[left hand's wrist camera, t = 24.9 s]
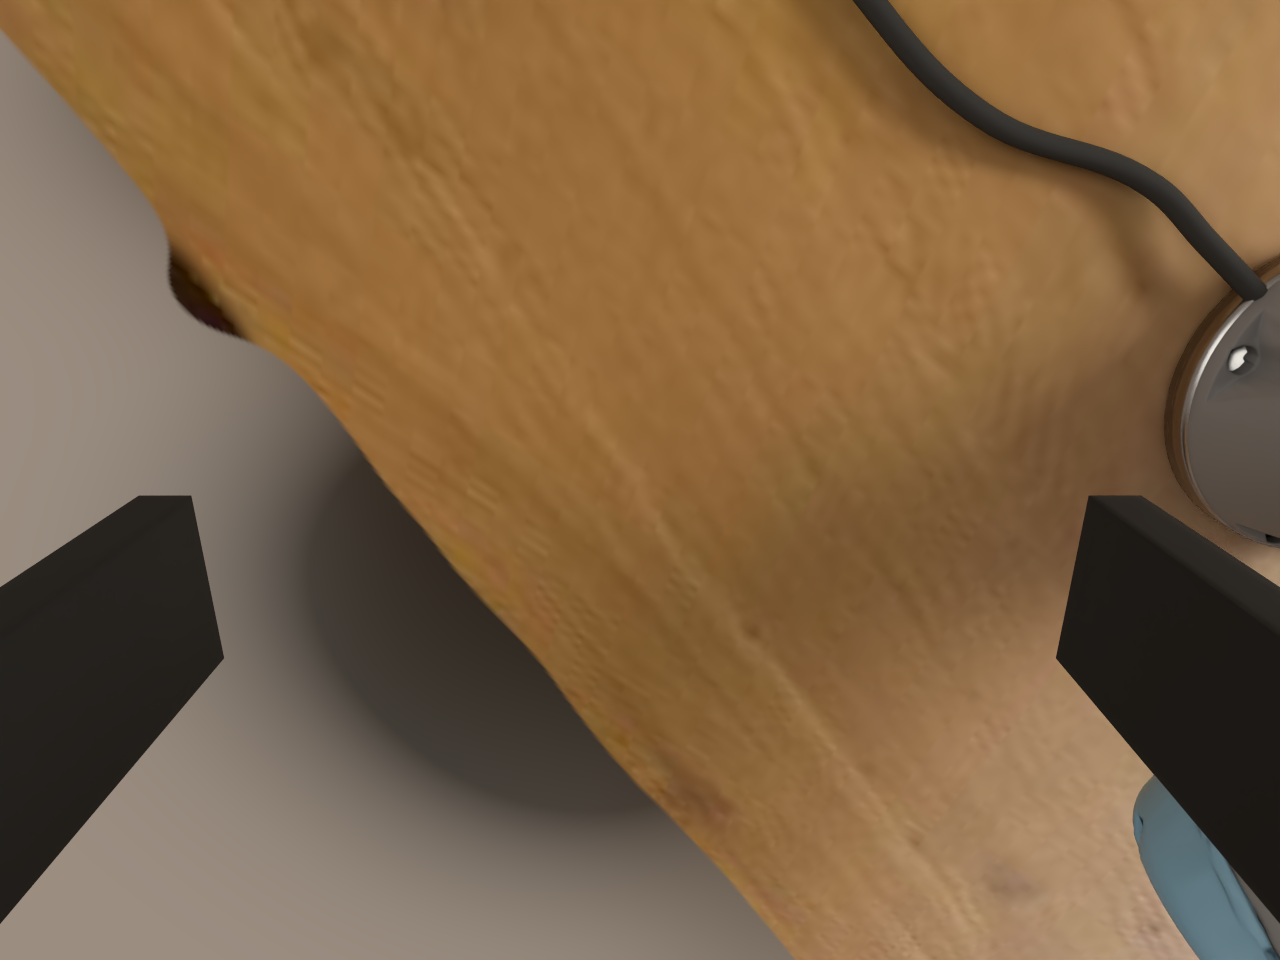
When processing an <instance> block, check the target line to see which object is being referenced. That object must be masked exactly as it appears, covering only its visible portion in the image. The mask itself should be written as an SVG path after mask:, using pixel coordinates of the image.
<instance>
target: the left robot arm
mask: <svg viewBox="0 0 1280 960" xmlns="http://www.w3.org/2000/svg"><path fill="white" fill-rule="evenodd" d="M853 1H854V2H855V4H856V5H857V6H858V8H859V9H860V10H861V11H862V13H863V14H864V15H865V16H866V18H867V19H868V20H869V22H870V23H871V24H872V25H873V27H874V28H875V29H876V30H877V32H878V33H879V34H880V35H881V37H882V38H883V39H884V40H885V42H886V43H887V44H888V45H889V47H890V48H891V49H892V50H893V51H894V53H895V54H896V55H897V56H898V57H899V58H900V60H901V61H902V62H903V63H904V64H905V65H906V66H907V68H908V69H909V70H910V71H911V72H912V73H913V74H914V75H915V76H916V77H917V78H918V79H919V80H920V81H921V82H922V83H923V84H924V85H925V86H926V87H927V88H928V89H929V90H930V91H931V92H932V93H933V94H934V95H935V96H937V97H938V98H939V99H940V100H941V101H942V102H944V103H945V104H946V105H947V106H948V107H950V108H951V109H952V110H954V111H955V112H956V113H957V114H959V115H960V116H961V117H963V118H964V119H965V120H967V121H968V122H970V123H971V124H972V125H974V126H975V127H977V128H979V129H980V130H982V131H983V132H985V133H987V134H988V135H990V136H992V137H994V138H996V139H998V140H1000V141H1002V142H1004V143H1006V144H1008V145H1011V146H1013V147H1016V148H1018V149H1021V150H1024V151H1026V152H1029V153H1032V154H1035V155H1039V156H1042V157H1046V158H1049V159H1053V160H1057V161H1060V162H1064V163H1068V164H1071V165H1075V166H1078V167H1082V168H1085V169H1089V170H1091V171H1094V172H1097V173H1100V174H1103V175H1105V176H1108V177H1110V178H1112V179H1115V180H1117V181H1119V182H1121V183H1123V184H1125V185H1127V186H1129V187H1130V188H1132V189H1134V190H1135V191H1137V192H1138V193H1140V194H1142V195H1143V196H1145V197H1146V198H1147V199H1149V200H1150V201H1151V202H1153V203H1154V204H1155V205H1156V206H1157V207H1158V208H1159V209H1160V210H1161V211H1162V212H1163V213H1164V214H1165V215H1166V216H1167V217H1168V218H1169V219H1170V220H1171V222H1172V223H1173V224H1174V225H1175V226H1176V228H1177V229H1178V230H1179V231H1180V232H1181V234H1182V235H1183V236H1184V237H1185V238H1186V240H1187V241H1188V242H1189V243H1190V244H1191V245H1192V246H1193V247H1194V249H1195V250H1196V251H1197V252H1198V253H1199V254H1200V255H1201V256H1202V257H1203V258H1204V259H1205V260H1206V261H1207V262H1208V263H1209V264H1210V265H1211V266H1212V267H1213V268H1214V270H1215V271H1216V272H1217V273H1218V274H1219V275H1220V276H1221V277H1222V278H1223V279H1224V280H1225V281H1226V282H1227V283H1228V284H1229V285H1230V286H1231V287H1232V288H1233V290H1232V291H1231V292H1230V293H1229V294H1227V295H1226V296H1225V297H1224V298H1223V299H1222V300H1221V301H1220V302H1219V303H1218V305H1217V306H1216V307H1215V308H1214V309H1213V310H1212V311H1211V312H1210V313H1209V315H1208V316H1207V317H1206V319H1205V320H1204V321H1203V322H1202V324H1201V325H1200V326H1199V328H1198V329H1197V331H1196V332H1195V334H1194V335H1193V337H1192V338H1191V340H1190V342H1189V343H1188V345H1187V347H1186V349H1185V351H1184V353H1183V354H1182V356H1181V359H1180V361H1179V363H1178V366H1177V368H1176V370H1175V373H1174V376H1173V379H1172V382H1171V385H1170V389H1169V393H1168V397H1167V402H1166V410H1165V424H1164V432H1165V444H1166V449H1167V454H1168V458H1169V461H1170V464H1171V467H1172V470H1173V472H1174V474H1175V476H1176V478H1177V481H1178V482H1179V484H1180V485H1181V487H1182V488H1183V490H1184V492H1185V493H1186V494H1187V495H1188V496H1189V498H1190V499H1191V500H1192V501H1193V502H1194V503H1195V504H1196V505H1197V506H1198V507H1199V508H1200V509H1201V510H1203V511H1204V512H1205V513H1207V514H1208V515H1209V516H1211V517H1212V518H1214V519H1215V520H1217V521H1219V522H1220V523H1222V524H1224V525H1225V526H1227V527H1228V528H1230V529H1232V530H1233V531H1235V532H1237V533H1239V534H1240V535H1242V536H1244V537H1246V538H1248V539H1250V540H1253V541H1255V542H1257V543H1261V544H1264V545H1267V546H1271V547H1276V548H1280V257H1278V258H1276V259H1275V260H1273V261H1271V262H1270V263H1268V264H1266V265H1264V266H1263V267H1261V268H1260V269H1259V270H1257V271H1256V272H1253V271H1252V270H1251V269H1250V268H1249V267H1248V266H1247V264H1246V263H1245V262H1244V261H1243V260H1242V259H1241V258H1240V257H1239V256H1238V255H1237V254H1236V253H1235V252H1234V251H1233V250H1232V249H1231V247H1230V246H1229V245H1228V244H1227V243H1226V242H1225V241H1224V240H1223V239H1222V238H1221V237H1220V236H1219V235H1218V234H1217V233H1216V232H1215V231H1214V229H1213V228H1212V227H1211V226H1210V225H1209V224H1208V222H1207V221H1206V220H1205V219H1204V218H1203V216H1202V215H1201V214H1200V213H1199V212H1198V210H1197V209H1196V208H1195V207H1194V206H1193V204H1192V203H1191V202H1190V201H1189V200H1188V199H1187V198H1186V197H1185V196H1184V195H1183V194H1182V193H1181V192H1180V191H1179V190H1178V189H1177V188H1176V187H1175V186H1174V185H1173V184H1171V183H1170V182H1169V181H1168V180H1166V179H1165V178H1163V177H1162V176H1161V175H1159V174H1157V173H1156V172H1154V171H1153V170H1151V169H1149V168H1148V167H1146V166H1144V165H1142V164H1140V163H1138V162H1136V161H1134V160H1132V159H1130V158H1128V157H1126V156H1123V155H1121V154H1118V153H1116V152H1113V151H1110V150H1107V149H1104V148H1101V147H1098V146H1095V145H1091V144H1088V143H1084V142H1081V141H1077V140H1073V139H1070V138H1066V137H1062V136H1059V135H1056V134H1052V133H1049V132H1046V131H1043V130H1040V129H1037V128H1034V127H1032V126H1029V125H1027V124H1024V123H1022V122H1020V121H1018V120H1016V119H1014V118H1012V117H1010V116H1008V115H1006V114H1004V113H1003V112H1001V111H999V110H998V109H996V108H995V107H993V106H992V105H990V104H989V103H987V102H986V101H985V100H983V99H982V98H980V97H979V96H978V95H976V94H975V93H974V92H973V91H971V90H970V89H969V88H967V87H966V86H965V85H964V84H963V83H961V82H960V81H959V80H958V79H957V78H956V77H955V76H953V75H952V74H951V73H950V72H949V71H948V70H947V69H946V68H945V67H944V66H943V65H942V64H941V63H940V62H939V61H938V60H937V59H936V58H935V57H934V56H933V55H932V54H931V53H930V51H929V50H928V49H927V48H926V47H925V46H924V45H923V44H922V42H921V41H920V40H919V39H918V38H917V37H916V35H915V34H914V33H913V32H912V31H911V29H910V28H909V27H908V26H907V24H906V23H905V22H904V21H903V19H902V18H901V17H900V15H899V14H898V13H897V12H896V10H895V9H894V8H893V7H892V5H891V4H890V3H889V1H888V0H853ZM223 659H224V655H223V651H222V646H221V641H220V636H219V631H218V626H217V621H216V616H215V611H214V606H213V601H212V596H211V591H210V586H209V581H208V576H207V571H206V566H205V562H204V556H203V552H202V547H201V542H200V537H199V532H198V527H197V522H196V517H195V512H194V507H193V502H192V497H191V496H138V497H136V498H135V499H133V500H132V501H130V502H129V503H127V504H126V505H124V506H123V507H121V508H119V509H118V510H116V511H115V512H113V513H112V514H110V515H109V516H107V517H106V518H104V519H103V520H101V521H100V522H98V523H97V524H95V525H94V526H92V527H91V528H89V529H88V530H86V531H85V532H83V533H82V534H80V535H79V536H77V537H76V538H74V539H73V540H71V541H70V542H68V543H66V544H65V545H63V546H62V547H60V548H59V549H57V550H56V551H54V552H53V553H51V554H50V555H48V556H47V557H45V558H44V559H42V560H41V561H39V562H38V563H36V564H35V565H33V566H32V567H30V568H29V569H27V570H26V571H24V572H23V573H21V574H20V575H18V576H17V577H15V578H14V579H12V580H11V581H9V582H7V583H6V584H4V585H3V586H1V587H0V923H1V922H2V921H3V920H4V919H5V917H6V916H7V915H8V914H9V913H10V911H11V910H12V909H13V908H14V907H15V906H16V904H17V903H18V902H19V901H20V900H21V898H22V897H23V896H24V895H25V894H26V893H27V891H28V890H29V889H30V888H31V887H32V885H33V884H34V883H35V882H36V881H37V879H38V878H39V877H40V876H41V875H42V874H43V872H44V871H45V870H46V869H47V868H48V866H49V865H50V864H51V863H52V862H53V861H54V859H55V858H56V857H57V856H58V855H59V853H60V852H61V851H62V850H63V849H64V847H65V846H66V845H67V844H68V843H69V842H70V840H71V839H72V838H73V837H74V836H75V834H76V833H77V832H78V831H79V830H80V828H81V827H82V826H83V825H84V824H85V822H86V821H87V820H88V819H89V818H90V817H91V815H92V814H93V813H94V812H95V811H96V809H97V808H98V807H99V806H100V805H101V804H102V802H103V801H104V800H105V799H106V798H107V796H108V795H109V794H110V793H111V792H112V790H113V789H114V788H115V787H116V786H117V785H118V783H119V782H120V781H121V780H122V779H123V777H124V776H125V775H126V774H127V773H128V771H129V770H130V769H131V768H132V767H133V766H134V764H135V763H136V762H137V761H138V760H139V758H140V757H141V756H142V755H143V754H144V753H145V751H146V750H147V749H148V748H149V747H150V745H151V744H152V743H153V742H154V741H155V739H156V738H157V737H158V736H159V735H160V734H161V732H162V731H163V730H164V729H165V728H166V726H167V725H168V724H169V723H170V722H171V720H172V719H173V718H174V717H175V716H176V715H177V713H178V712H179V711H180V710H181V709H182V707H183V706H184V705H185V704H186V703H187V701H188V700H189V699H190V698H191V697H192V696H193V694H194V693H195V692H196V691H197V690H198V688H199V687H200V686H201V685H202V684H203V682H204V681H205V680H206V679H207V678H208V676H209V675H210V674H211V673H212V672H213V671H214V669H215V668H216V667H217V666H218V665H219V663H220V662H221V661H222V660H223ZM1056 659H1057V660H1058V661H1059V662H1060V664H1061V665H1062V666H1063V667H1064V668H1065V669H1066V671H1067V672H1068V673H1069V674H1070V675H1071V677H1072V678H1073V679H1074V680H1075V681H1076V682H1077V684H1078V685H1079V686H1080V687H1081V688H1082V690H1083V691H1084V692H1085V693H1086V694H1087V696H1088V697H1089V698H1090V699H1091V700H1092V701H1093V703H1094V704H1095V705H1096V706H1097V707H1098V709H1099V710H1100V711H1101V712H1102V713H1103V715H1104V716H1105V717H1106V718H1107V719H1108V720H1109V722H1110V723H1111V724H1112V725H1113V726H1114V728H1115V729H1116V730H1117V731H1118V732H1119V734H1120V735H1121V736H1122V737H1123V738H1124V739H1125V741H1126V742H1127V743H1128V744H1129V745H1130V747H1131V748H1132V749H1133V750H1134V751H1135V753H1136V754H1137V755H1138V756H1139V757H1140V758H1141V760H1142V761H1143V762H1144V763H1145V764H1146V766H1147V767H1148V768H1149V769H1150V770H1151V771H1152V773H1153V774H1154V775H1153V777H1152V778H1151V779H1150V780H1149V781H1148V782H1147V783H1146V784H1145V785H1144V786H1143V788H1142V789H1141V791H1140V792H1139V794H1138V797H1137V799H1136V802H1135V805H1134V810H1133V826H1134V836H1135V839H1136V842H1137V845H1138V847H1139V853H1140V858H1141V861H1142V864H1143V866H1144V868H1145V871H1146V873H1147V875H1148V877H1149V879H1150V882H1151V884H1152V885H1153V887H1154V889H1155V891H1156V893H1157V895H1158V897H1159V898H1160V900H1161V902H1162V904H1163V906H1164V907H1165V909H1166V911H1167V912H1168V914H1169V915H1170V917H1171V918H1172V920H1173V922H1174V923H1175V925H1176V926H1177V928H1178V930H1179V931H1180V932H1181V934H1182V935H1183V937H1184V938H1185V940H1186V941H1187V943H1188V944H1189V946H1190V947H1191V948H1192V950H1193V951H1194V952H1195V954H1196V955H1197V957H1198V958H1199V959H1200V960H1280V587H1279V586H1277V585H1276V584H1274V583H1273V582H1271V581H1270V580H1268V579H1266V578H1265V577H1263V576H1262V575H1260V574H1259V573H1257V572H1256V571H1254V570H1253V569H1251V568H1250V567H1248V566H1247V565H1245V564H1244V563H1242V562H1241V561H1239V560H1238V559H1236V558H1235V557H1233V556H1232V555H1230V554H1229V553H1227V552H1226V551H1224V550H1223V549H1221V548H1220V547H1218V546H1217V545H1215V544H1214V543H1212V542H1211V541H1209V540H1207V539H1206V538H1204V537H1203V536H1201V535H1200V534H1198V533H1197V532H1195V531H1194V530H1192V529H1191V528H1189V527H1188V526H1186V525H1185V524H1183V523H1182V522H1180V521H1179V520H1177V519H1176V518H1174V517H1173V516H1171V515H1170V514H1168V513H1167V512H1165V511H1164V510H1162V509H1161V508H1159V507H1158V506H1156V505H1155V504H1153V503H1151V502H1150V501H1148V500H1147V499H1145V498H1144V497H1142V496H1089V497H1088V502H1087V507H1086V512H1085V517H1084V522H1083V527H1082V532H1081V537H1080V542H1079V547H1078V552H1077V556H1076V561H1075V566H1074V571H1073V576H1072V581H1071V586H1070V591H1069V596H1068V601H1067V606H1066V611H1065V616H1064V621H1063V626H1062V631H1061V636H1060V641H1059V646H1058V651H1057V655H1056Z"/></svg>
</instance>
